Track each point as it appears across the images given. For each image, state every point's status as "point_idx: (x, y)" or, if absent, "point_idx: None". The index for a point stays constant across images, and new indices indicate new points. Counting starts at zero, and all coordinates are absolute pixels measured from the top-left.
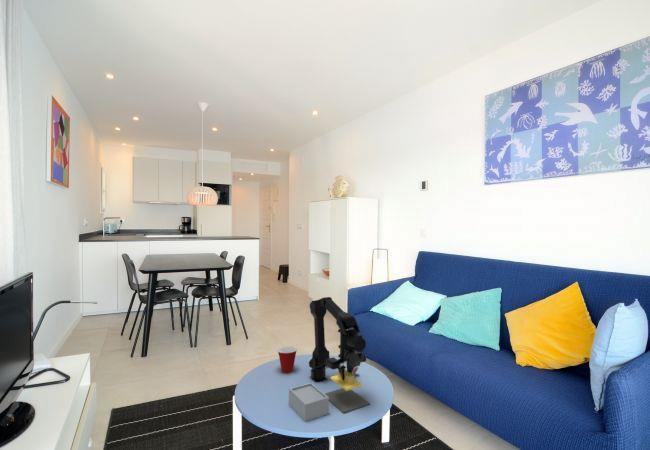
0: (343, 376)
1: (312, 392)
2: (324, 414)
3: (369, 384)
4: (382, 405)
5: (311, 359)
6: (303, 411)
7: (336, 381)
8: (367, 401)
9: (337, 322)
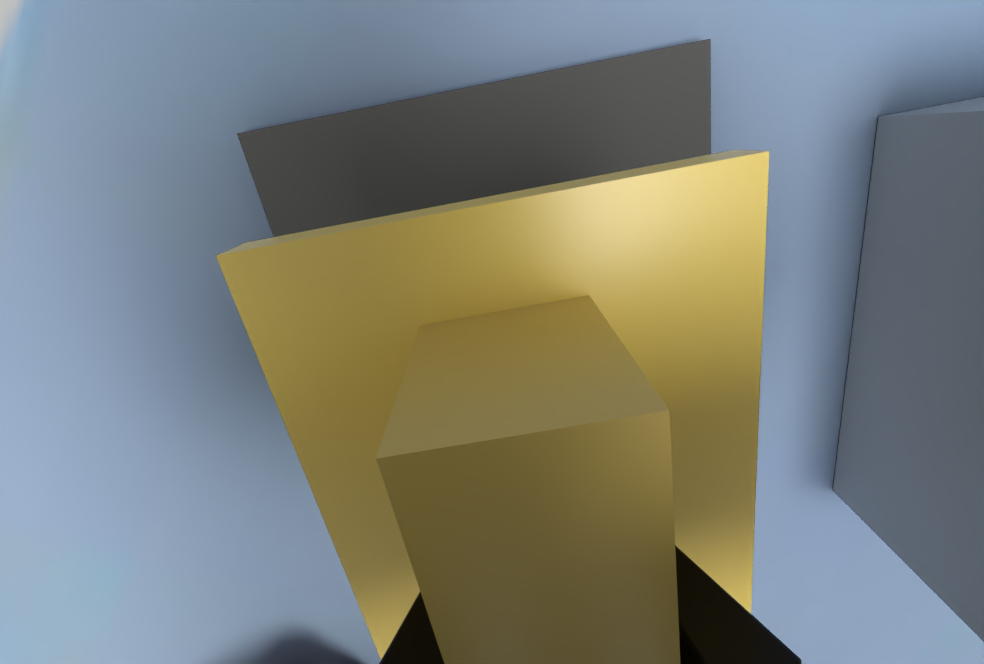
0: (696, 585)
1: None
2: (954, 104)
3: (118, 540)
4: (65, 41)
5: None
6: None
7: (748, 536)
8: (261, 191)
9: None
